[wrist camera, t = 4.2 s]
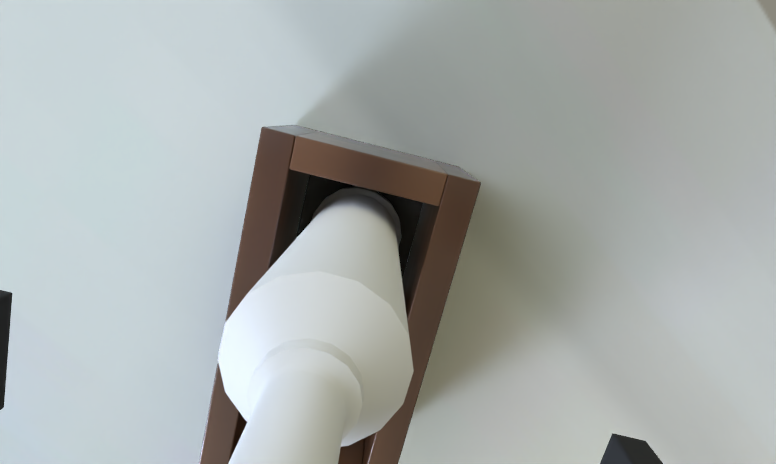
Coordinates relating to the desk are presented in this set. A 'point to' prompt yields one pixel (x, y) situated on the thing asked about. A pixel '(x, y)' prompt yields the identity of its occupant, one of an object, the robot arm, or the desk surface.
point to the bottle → (321, 337)
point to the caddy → (279, 230)
